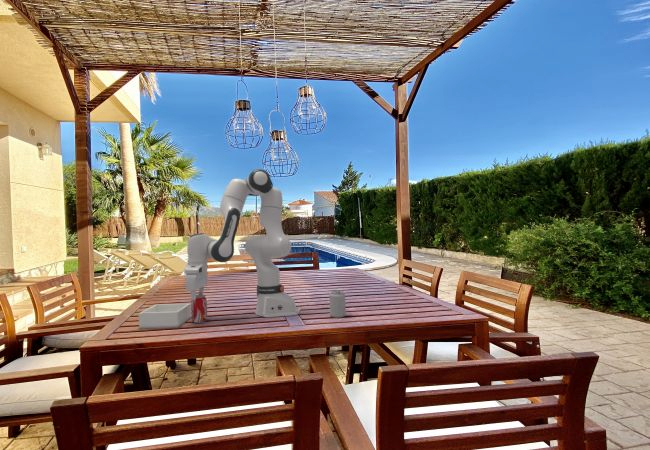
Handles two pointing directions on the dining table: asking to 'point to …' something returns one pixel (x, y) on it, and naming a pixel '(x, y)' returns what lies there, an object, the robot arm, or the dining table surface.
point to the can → (337, 304)
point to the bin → (164, 316)
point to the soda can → (199, 309)
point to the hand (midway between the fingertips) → (197, 297)
